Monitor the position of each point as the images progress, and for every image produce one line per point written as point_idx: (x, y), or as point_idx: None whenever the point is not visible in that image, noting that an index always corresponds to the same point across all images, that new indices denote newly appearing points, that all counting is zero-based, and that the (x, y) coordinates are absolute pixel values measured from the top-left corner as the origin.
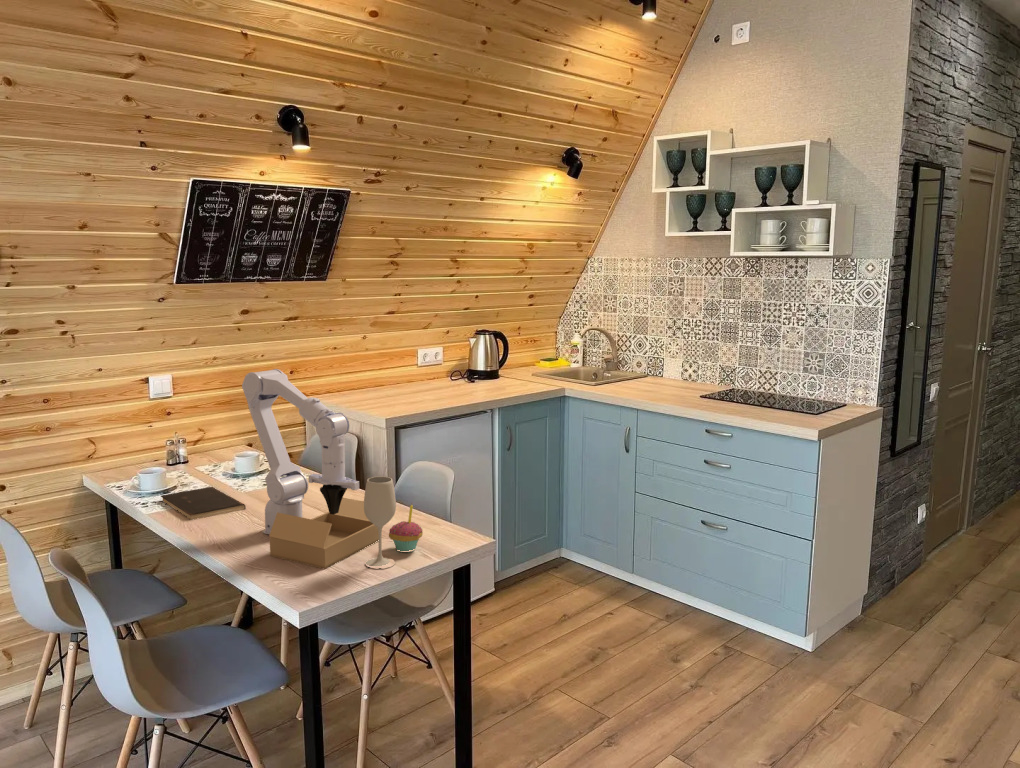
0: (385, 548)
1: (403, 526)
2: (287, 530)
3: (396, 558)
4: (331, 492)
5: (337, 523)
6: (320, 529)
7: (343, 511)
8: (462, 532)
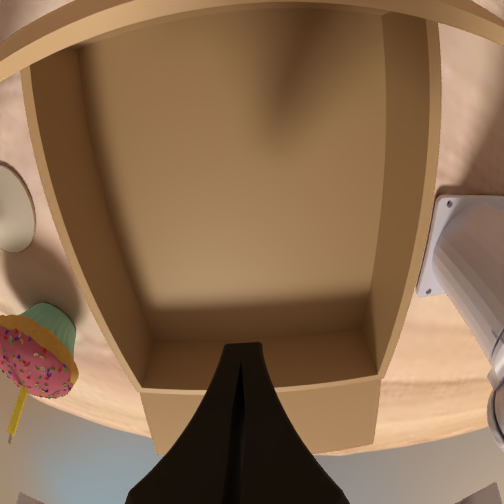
0: (88, 306)
1: (6, 363)
2: None
3: (14, 265)
4: (166, 502)
5: (326, 354)
6: (2, 51)
7: (321, 403)
8: (87, 416)
